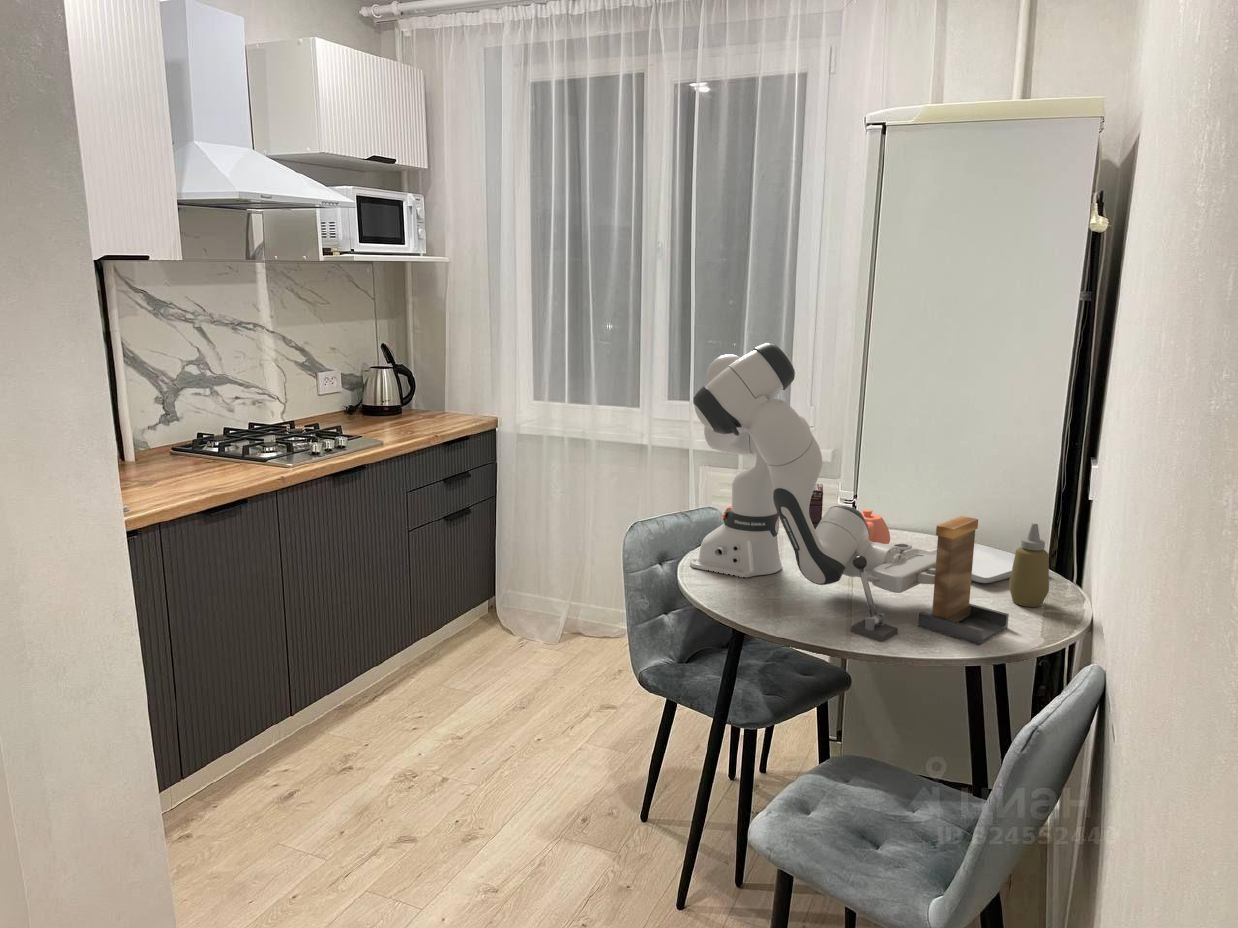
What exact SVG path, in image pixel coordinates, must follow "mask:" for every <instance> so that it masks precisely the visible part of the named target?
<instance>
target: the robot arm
mask: <svg viewBox="0 0 1238 928" xmlns="http://www.w3.org/2000/svg"><path fill="white" fill-rule="evenodd" d="M795 374H796V372H795V368H794V363H793V362H792V359H791V357H790V356H789V354H787V352H786V351H784V349H782V348H780V347H779V346H777V344H775V343H769V342H765V343H763V344H760V345H758V346H756V347H753V348H752V351H749V352H748V353H746V354H744V355H742V356H739V355H736V354H732V353H731V354H730V353H729V354H722V355H720V356H718V357H716V358H715V359H714V360H712V361H711V362H710V364H709V365H708V368H707V370H706V376H705V377H706V385H705V386H703V385H702V386H701V388H700V389H699V390H698V391H697V392H696V393H695V395H694V396H693V401H692V403H693V405H694V412H695V414H696V416H697V418H698V420H699V421H700V422H701V423H702V424H703V426H704V429H703V431H704V432H703V433H704V439H705V442H706V443H707V445H708V446H709V448H711V449H712V450H715V451H717V452H718V451H719V452H722V453H726V454H729V455H739V456H740V455H742V456H751V457H752V456H753V457H755V459H756V461H755V465H754V466H752V467H750V468H747V469H745V470H743V471H741V472H739V473H738V474H736V476H735V477H734V478H733V481H732V484H731V506H728V507H727V508H726V509H725V511H724V512H723V514H722V521H723V524H721V525H719V526H718V527H717V528H715V529H713V530H712V531H711V532H709V533H708V534H706V536H705V537H704V538H703V540H702V541H701V544H700V548H699V550H698V552H696V553H694V554H693V555H692V557H691V558H690V563H689V565H690V567H691V568H694V569H698V570H704V571H708V570H709V571H708V572H713V571H714V573H718V572H719V573H718V574H723V573H724V575H728V574H730V575H729V576H733V575H735V576H734V577H738V576H739V577H738V578H743V577H745V578H750V577H755V576H763V575H764V576H765V575H770V574H774V573H777V572H780V571H781V570H782V569H783V566H782V562H781V556H780V553H779V544H778V534H779V530H780V523H781V524H782V526H783V529H784V530H785V531H784V532H785V533H786V535H787V537H788V538H787V539H788V541H789V542H790V545H791V547H792V549H793V551H794V555H795V560H796V564H797V567H798V570H799V571H800V573H801V574H802V576H803V577H804V578H805V579H807V581H809V582H811V583H812V584H815V585H818V586H824V585H831V584H835V583H836V582H840V580H841V578H842V576H843V575H844V576H847V577H852V578H860V579H861V576H860V573H859V569H857V568H855V567H854V565H853V559H854V558H855V557H856V556H858V555H861V556H864V557H865V558H866V560H867V566H866V567H865V571H866V575H867V579H868V583H871V584H872V585H873V586H874V587H877V588H879V589H882V590H884V591H888V592H891V593H895V594H898V593H899V594H902V593H903V592H906V591H908V590H909V589H912V588H914V587H917V586H919V585H920V584H921V585H922V584H923V585H934V583H935V569H936V556H937V554H936V553H933V552H929V551H930V550H926V549H921V548H916V547H915V548H913V545H912V544H909V543H898V544H891V543H889V544H882V543H878V542H871V541H870V540H869V538H868V537H869V532H868V528H867V524H866V521H865V519H864V517H863V515H862V514H861V513H862V512H860V511H859V510H858V509H856V508H853V507H851V506H848V505H833V506H831V507H829V508H828V509H827V511H826V512H824V515H822V519H821V521H820V522H819V524H818V526H817V527H816V529H814V526H813V524H812V522H811V519H810V516H809V505H810V500H811V496H812V493H813V490H814V487H815V484H817V482H818V480H819V477H820V475H821V472H822V467H823V456H822V452H821V451H822V450H821V449H820V445H819V444H818V442H817V440H816V438H815V437H814V435H813V433H812V432H811V428H810V425H809V423H808V421H807V420H806V419H805V418H804V417H803V416H801V415H800V414H799V413H797V412H796V410H795V409H794V408H793V407H792V406H791V405H790V404H789V403H788V402H787V401H785V400H782V399H779V398H776V397H777V396H778V395H779V394H780V393H781V392H782V391H786V390H787V389H788V387H789V386H790V385H792V383H793V382H794V381H795V377H796V375H795Z"/></svg>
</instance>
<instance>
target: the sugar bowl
mask: <svg viewBox="0 0 1238 928" xmlns="http://www.w3.org/2000/svg"><path fill="white" fill-rule="evenodd" d="M860 513H861V514H862V515H863V517H864V519H865V521H866V524H867V528H868V532H869V537H868V538H869V540H870V541H871V542H878V543H882V544H891V543H890V542H891V533H890V531H889V527H888V525H887V524H886V521H885V520H884V518H883V517H882V516H881V515H880V514H877V513H873V510H872V509H866V508H865V509H863V510H862V512H860Z"/></svg>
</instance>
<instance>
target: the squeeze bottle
mask: <svg viewBox="0 0 1238 928" xmlns="http://www.w3.org/2000/svg"><path fill="white" fill-rule="evenodd" d="M1039 530H1040V528H1039V524H1038V523H1031V526H1030V529H1029V531H1028V534H1027V537H1023V538H1022V539H1021V540H1020V541H1021V543H1020V547H1017V548H1016V550H1015V553H1014V554H1015V558H1014V562H1013V567H1012V572H1011V577H1010V578H1009V582H1008V588H1009V592H1010V595H1011V599H1012V600H1011V601H1012V602H1013V603H1014V604H1016V605H1019V606H1022V607H1027V608H1037V607H1038V608H1039V607H1041V606H1042V605H1043V603H1044V601H1045V600H1046V597H1047V595H1048V593H1049V591H1050V578H1049V577H1050V575H1049V574H1050V573H1049V572H1050V566H1049V564H1050V563H1049V557H1050V555H1049V554H1050V553H1049V552H1048V551H1046V550H1045V546H1046V545H1045V544H1046V541H1045V540H1043V539H1041V538H1040V537H1041V536H1040V531H1039Z"/></svg>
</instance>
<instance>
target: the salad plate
mask: <svg viewBox="0 0 1238 928" xmlns="http://www.w3.org/2000/svg"><path fill="white" fill-rule="evenodd" d="M928 551H929V552H933V553H936V554H937V549H934V550H928ZM1014 558H1015V553H1011V552H1008V551H1004V550H1000V549H997V548H995V547H990V546H986V545H983V544H980V543H975V542H974V552H973V564H972V576H971V582H972V581H973V582H976V583H978V584H990V583H995V582H998V581H1003V580H1006V579H1010V577H1011V572H1012V567H1013V562H1014Z"/></svg>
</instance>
